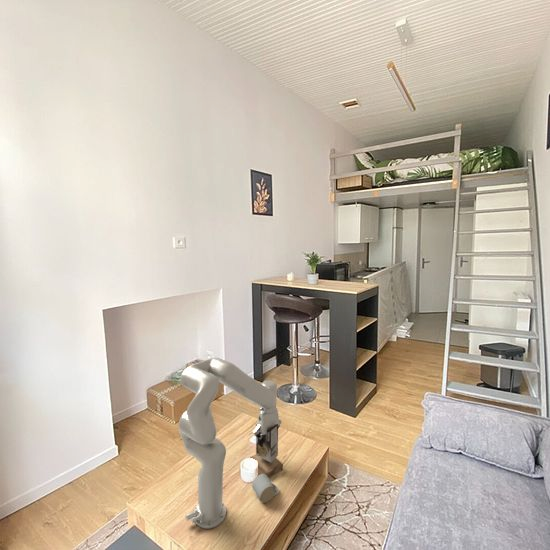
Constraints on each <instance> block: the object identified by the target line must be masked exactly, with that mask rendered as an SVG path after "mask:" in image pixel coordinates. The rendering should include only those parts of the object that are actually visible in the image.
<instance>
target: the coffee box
mask: <svg viewBox="0 0 550 550" xmlns="http://www.w3.org/2000/svg"><path fill="white" fill-rule="evenodd" d="M256 427H257V423H256V424H255V428H256ZM257 433H258V432H257ZM260 435H261V433H260ZM262 439H263V446H262V447H261V446H259V445H258V438H257V437H256V436H255V448H256V450H255V455H257V456H259V457H261V458H263V459H265V460H267V461H269V462H272V461H273V460H274V459H275V458H277V457H278V456H279V450H278V449H279V447H278V446H279V429H278V424H277V425H275V426H273V427H271V428H269V429H267V434H265V435H263V437H262Z"/></svg>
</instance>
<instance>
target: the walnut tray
mask: <svg viewBox="0 0 550 550" xmlns="http://www.w3.org/2000/svg"><path fill="white" fill-rule="evenodd" d="M250 458H253V459H255V460H257V461H258V471H259V472H258V471H257V472H258V473H259V475H260V474H265V475H267V477H268V478H269V479H270V478H271V477H273V476H275V475H277V474H278V473H280V472H282V471H283V470H284V469H283V468H284V464H283V463H282V462H281V461H280V460H279V459H278V458H277V457H276V458H275V459H274V460H273V461H272V462H269V461H267V460H265V459H263V458H261V457H259V456H257V455H256V454H254V455H252V456H250Z"/></svg>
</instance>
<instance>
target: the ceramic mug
mask: <svg viewBox="0 0 550 550" xmlns="http://www.w3.org/2000/svg"><path fill="white" fill-rule="evenodd" d="M251 485H252V486H251V487H252V490H253V491H254V493H255V494H256V496H257V498H258V499H259V500H260V501H261V502H262V503H268V502H270V501H271V500H272V499H274V497H275V496H277V495H278V494H279V490H280V489H279V487H278V486H277V485H276V484H274V483H272V482H271V480H270V477H269V478H268V477H267V475H265V474H260V473H259V474H258V475H257V476H255V478H254V479H253V481H252V484H251Z"/></svg>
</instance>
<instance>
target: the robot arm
mask: <svg viewBox="0 0 550 550" xmlns="http://www.w3.org/2000/svg"><path fill="white" fill-rule="evenodd" d="M179 381H180V384H181V386H182V387H183V388H185V390H188V391H190V392H192V393H193V394H195V395H194V397H193V398H192V400H191V401H190V403H189V404H188V406H187V408H186V410H185V411H184V412H183V413H182V414H181V416H180V418H179V421H178V425H177V426H178V432H179V435H180V438H181V440H182V442H183V447H184V449H185V450H186V453H188V454H189V455H190V456H192V457H193V458H195V459H196V460H197V461H199V462H200V464H201V467H200V468H199V470H198V473H197V504H195V507H194V509H193V511H191V512H189V513H186V514H185V520H186V522H188V521H189V520H191V523H192V524H194V523H195V525H196V526H198V527H199V528H202V529H214V528H215V527H219V525H221V524H222V522H224V520H225V519H226V516H227V507H226V505H225V504H224V502H223V490H224V489H223V486H224V485H223V484H224V482H223V481H224V479H223V478H224V465H225V464H224V463H225V458H226V455H227V448H226V446H225V444H224V443H223V442H222V441H221V440H220V439H219V438H217V437H216V436H217V427H216V423H215V420H214V416H213V414H212V409H211V406H212V403H213V401H214V400H215V398H216V396H217V394H218V392H219V389H220V384H221V385H223V386H225V387H227V388H228V389H229V390H231V391H233V392H234V393H235V394H237V395H239V396H240V397H243V398H245V399H246V400H247V401H248V402H249V403H252V404H253V405H256V406H258V407H259V408H258V411H259V412H258V416H257V417H258V418H257V423H256V424H257V427H256V426H255V429H253V431H252V434H253V435H254V436H255V438H256V437H257V438H258V445H259V446H261V447H262V446H263V439H262V437H263V435H265V434H267V429H269V428H271V427H273V426H275V425H277V424H278V430H279V428H280V426H281V425H282V420H281V419H280V418H279V411H278V408H277V398H278V397H277V394H278V393H277V392H278V386H277V382H275V381H274V380H270V379H269V380H264V381H262V383H260V382H258V381H257V380H256V379H254V378H253V377H252V376H249V375H248V374H247V373H245V371H243V370H242V369H241V368H239V367H238V366H236V364H234V363H232V362H230V361H227V360H225V359H222V358H219V357H213V358H208V359H206V360H203V361H200V362H198V363H194V364H191V365H189V366H187V367H186V368H185V369H184V370H183V371H182V373H181V375H180V380H179ZM257 432H258V433H257ZM260 433H261V435H260Z"/></svg>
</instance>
